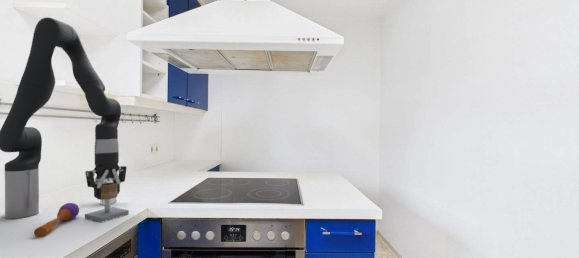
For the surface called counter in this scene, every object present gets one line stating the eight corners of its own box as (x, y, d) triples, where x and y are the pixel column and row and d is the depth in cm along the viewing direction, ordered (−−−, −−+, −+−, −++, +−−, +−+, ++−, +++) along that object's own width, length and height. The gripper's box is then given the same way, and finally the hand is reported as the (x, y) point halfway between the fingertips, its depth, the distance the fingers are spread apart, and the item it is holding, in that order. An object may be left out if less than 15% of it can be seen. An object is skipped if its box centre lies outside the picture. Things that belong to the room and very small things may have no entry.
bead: (94, 198, 102) (93, 184, 102) (110, 194, 108) (110, 181, 108) (104, 200, 100) (104, 186, 100) (120, 196, 105) (120, 183, 105)
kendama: (26, 225, 83) (61, 202, 103) (31, 244, 84) (66, 217, 103) (49, 220, 85) (80, 198, 104) (54, 238, 86) (84, 213, 105)
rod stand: (84, 218, 102) (84, 189, 101) (112, 210, 111) (112, 184, 111) (101, 222, 97) (101, 192, 97) (128, 214, 106) (128, 186, 106)
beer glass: (117, 204, 120) (116, 169, 119) (97, 206, 116) (97, 170, 116) (118, 200, 126) (118, 167, 126) (100, 202, 123) (99, 168, 123)
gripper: (119, 149, 112) (119, 190, 112) (79, 152, 99) (80, 199, 99) (131, 150, 109) (131, 192, 109) (92, 153, 96) (92, 202, 96)
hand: (107, 195), depth 104 cm, fingers closed on bead, 6 cm apart
